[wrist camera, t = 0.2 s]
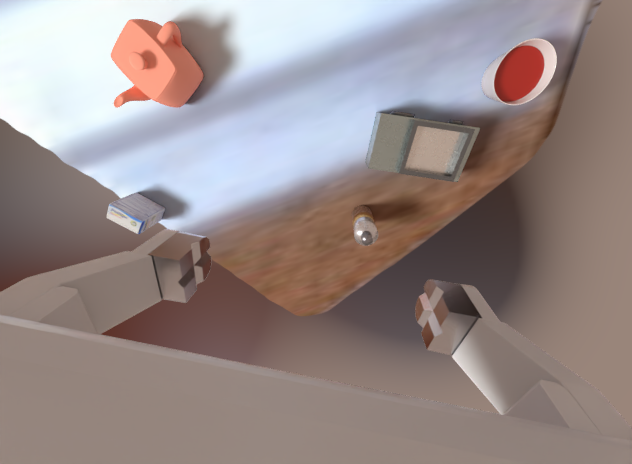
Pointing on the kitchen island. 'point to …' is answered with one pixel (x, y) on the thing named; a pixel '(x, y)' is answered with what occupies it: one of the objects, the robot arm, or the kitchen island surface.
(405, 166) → the green tray box
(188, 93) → the teapot
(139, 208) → the medicine box
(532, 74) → the candle
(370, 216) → the frosted glass bottle
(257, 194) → the kitchen island surface
